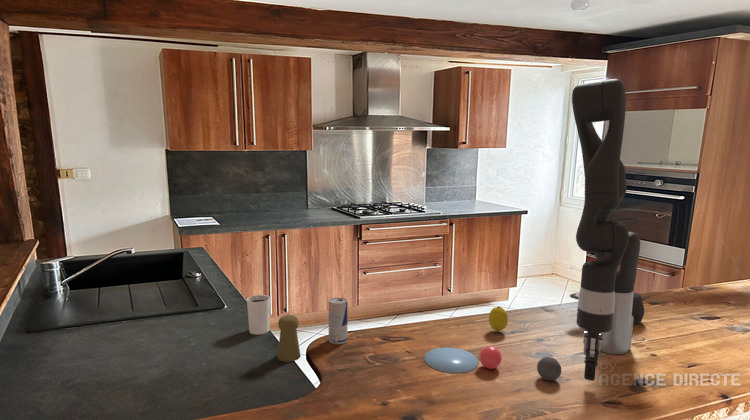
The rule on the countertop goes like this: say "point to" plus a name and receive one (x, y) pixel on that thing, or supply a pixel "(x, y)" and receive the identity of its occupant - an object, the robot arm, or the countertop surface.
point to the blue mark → (451, 360)
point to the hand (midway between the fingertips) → (589, 378)
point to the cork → (288, 339)
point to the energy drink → (338, 320)
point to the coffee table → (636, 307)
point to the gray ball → (549, 368)
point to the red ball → (490, 357)
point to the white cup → (258, 314)
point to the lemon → (498, 318)
